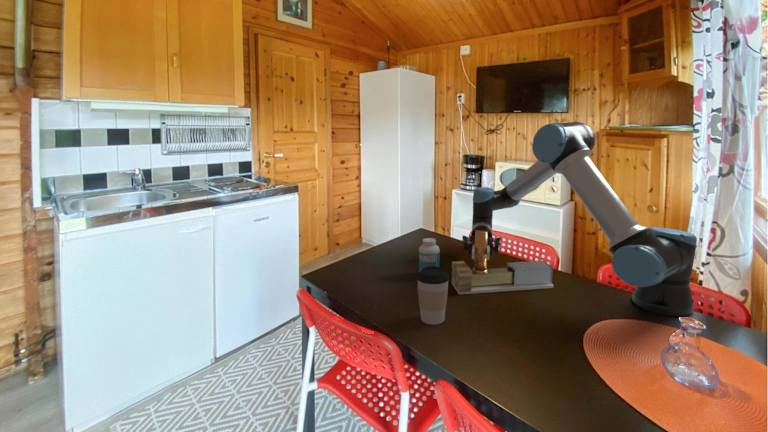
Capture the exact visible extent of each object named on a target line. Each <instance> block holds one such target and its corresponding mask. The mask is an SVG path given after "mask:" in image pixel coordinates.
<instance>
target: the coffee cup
mask: <svg viewBox="0 0 768 432" xmlns="http://www.w3.org/2000/svg"><path fill="white" fill-rule="evenodd" d="M416 280H417V295H418V306H419V312H420V321H421V322H423V323H424V324H426V325H440V324H441V323H444V322H445V319H446V308H447V300H448V292H449V280H450V277H449V273H448V272H447V271H446V270H445V269H444V268H443V267H434V266H431V267H425V268H423V269H422V270H421V271H420V272H419V271H418V273H417V275H416Z"/></svg>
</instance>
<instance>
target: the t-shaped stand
mask: <svg viewBox="0 0 768 432" xmlns="http://www.w3.org/2000/svg"><path fill="white" fill-rule="evenodd" d="M487 243H488V231H487V230H476V231H475V255H474V259H473V261H474V263H473V264H474V265H473V268H472V269H471V270H472V282H471V286H480V285H495V284H510V283H513V282H514V271H513V270H512V269H511V268H507V267H499V268H488V267H487V266H488V263H487V262H488V260H487Z"/></svg>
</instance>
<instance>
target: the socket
mask: <svg viewBox="0 0 768 432" xmlns="http://www.w3.org/2000/svg"><path fill="white" fill-rule="evenodd" d="M472 270H473V269H471V268H470V267H469V265H468V264H467V263H466V262H465V260H458V261H457V260H456V261H451V283H452V282H453V284H454V285H455V287H456V288H457V290H458V291H459V292H461V291H468V292H469V291H471V282H472Z"/></svg>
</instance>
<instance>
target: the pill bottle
mask: <svg viewBox="0 0 768 432" xmlns="http://www.w3.org/2000/svg"><path fill="white" fill-rule="evenodd" d="M436 243H437V240H436V239H435V238H432V237H428V238H427V237H426V238H423V239H422V244H421V245H420V246H419V248H418V273H419V272H420V271H421V270H422V269H423V268H425V267H431V266H434V267H440V266H441V265H440V262H441V261H440V257H441V256H440V255H441V254H440V253H441V251H440V247H439V246H438V245H437V244H436ZM440 268H441V267H440Z"/></svg>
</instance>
